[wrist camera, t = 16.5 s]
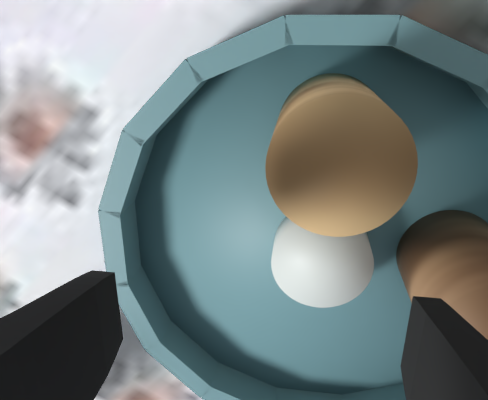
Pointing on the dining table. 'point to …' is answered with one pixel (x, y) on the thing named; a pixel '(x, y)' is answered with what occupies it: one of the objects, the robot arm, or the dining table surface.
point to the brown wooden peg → (448, 263)
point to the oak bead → (339, 157)
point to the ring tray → (271, 217)
